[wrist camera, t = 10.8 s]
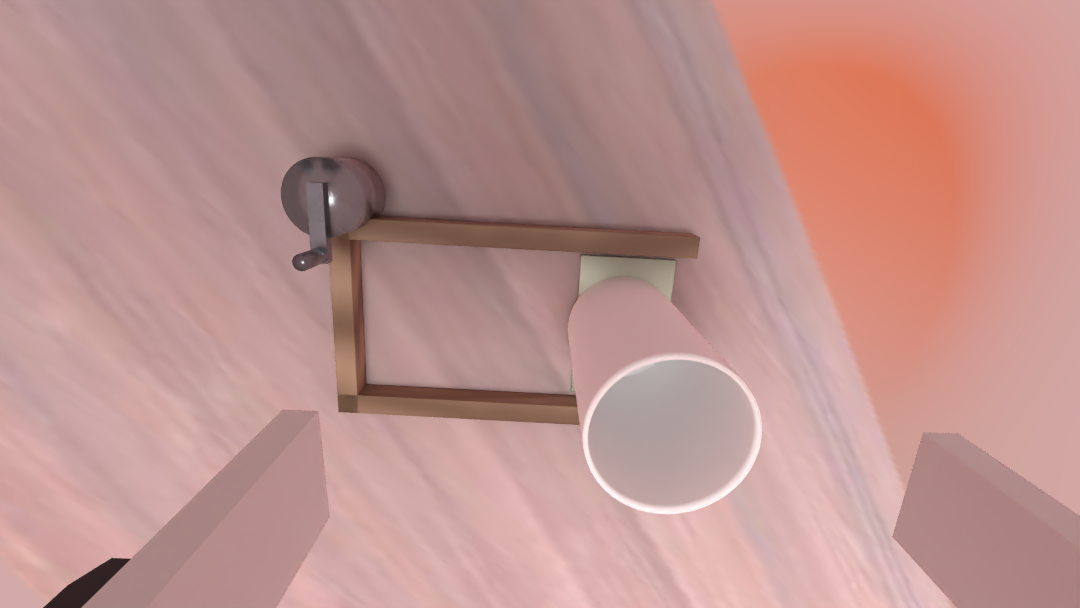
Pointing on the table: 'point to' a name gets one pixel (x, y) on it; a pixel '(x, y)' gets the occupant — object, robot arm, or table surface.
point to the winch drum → (329, 202)
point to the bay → (482, 234)
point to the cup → (657, 401)
